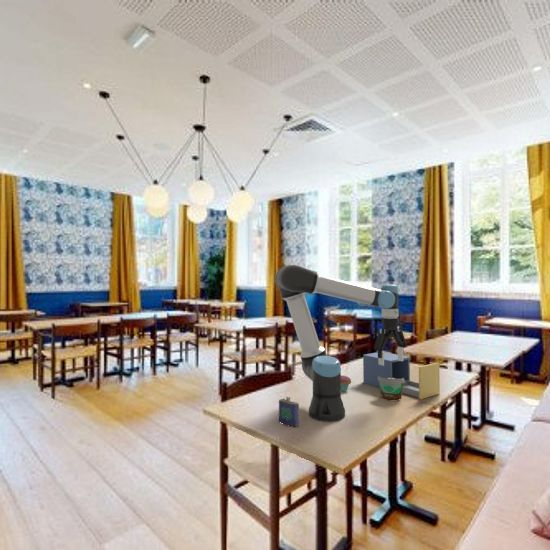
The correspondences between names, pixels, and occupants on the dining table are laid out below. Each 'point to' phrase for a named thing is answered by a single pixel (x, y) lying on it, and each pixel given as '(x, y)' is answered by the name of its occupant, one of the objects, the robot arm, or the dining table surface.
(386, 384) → the food container
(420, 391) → the tan boxy piece
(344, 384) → the cupcake
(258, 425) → the dining table surface
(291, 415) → the flask
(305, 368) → the robot arm
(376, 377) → the open box
